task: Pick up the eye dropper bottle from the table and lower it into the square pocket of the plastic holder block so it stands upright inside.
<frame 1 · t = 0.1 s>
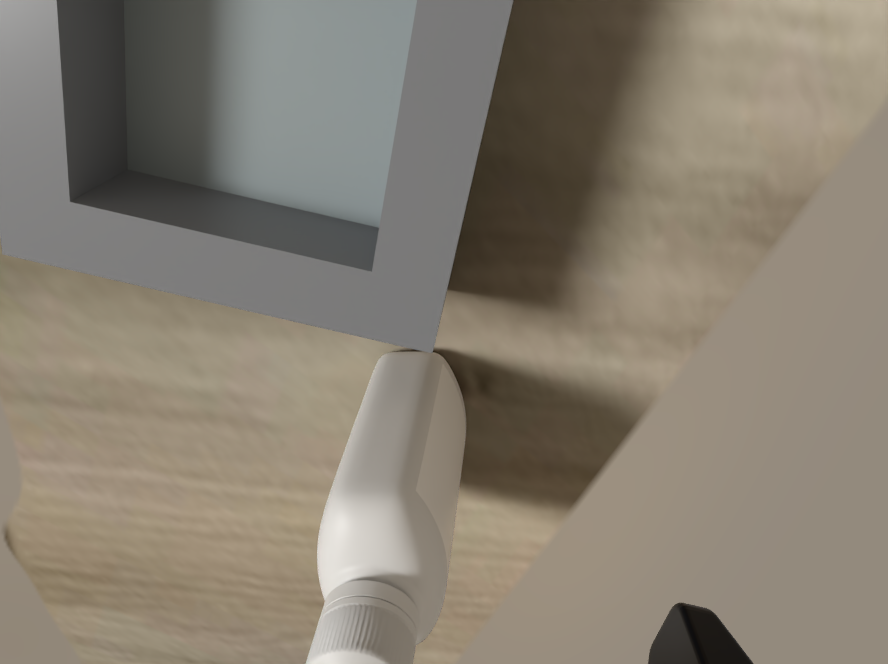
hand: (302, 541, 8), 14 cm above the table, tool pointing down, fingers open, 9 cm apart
eye dropper bottle: (419, 409, 25), on the table
holder block: (281, 54, 20), on the table
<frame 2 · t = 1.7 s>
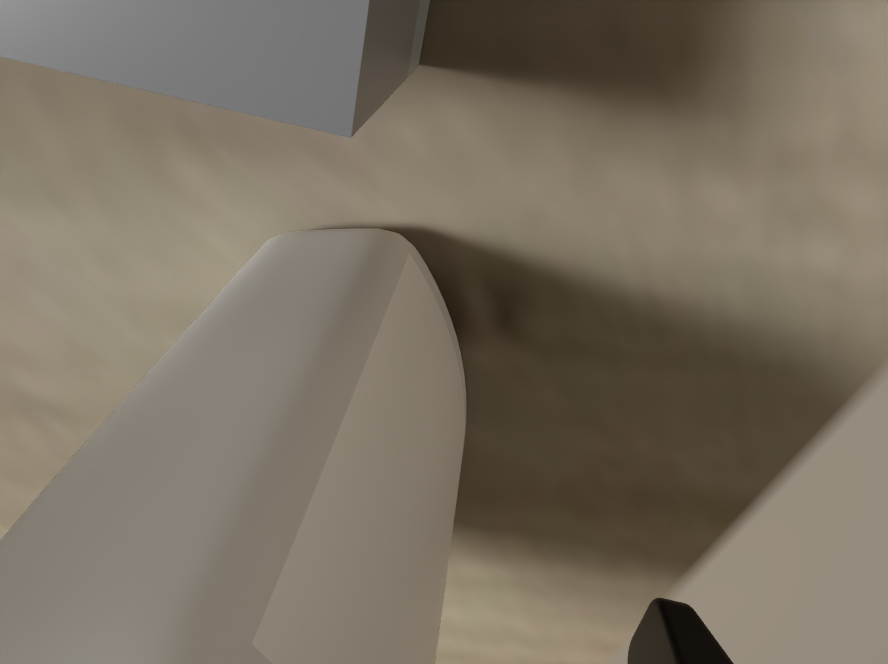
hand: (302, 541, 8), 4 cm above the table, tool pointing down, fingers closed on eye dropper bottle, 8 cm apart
eye dropper bottle: (366, 373, 12), on the table, touching gripper
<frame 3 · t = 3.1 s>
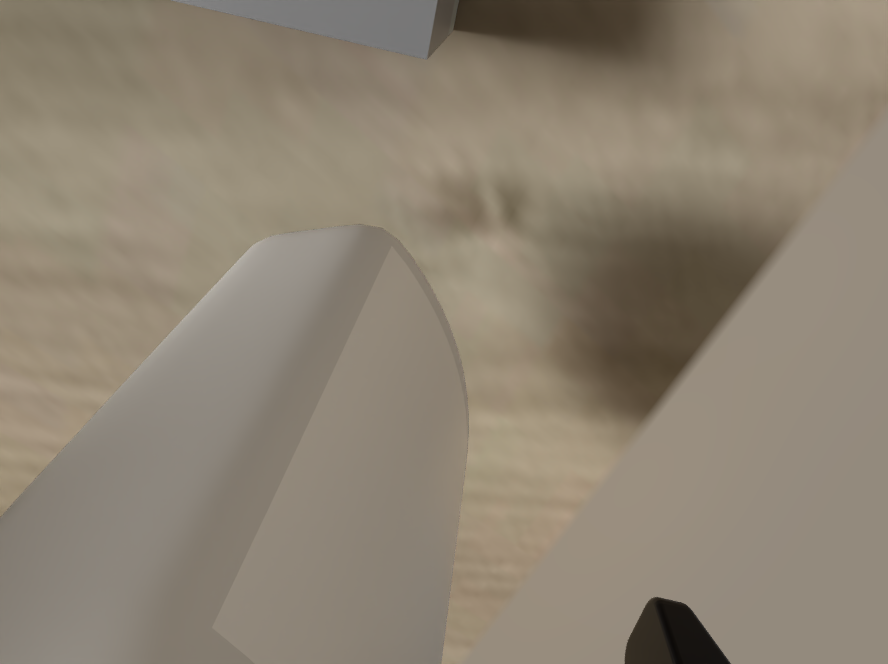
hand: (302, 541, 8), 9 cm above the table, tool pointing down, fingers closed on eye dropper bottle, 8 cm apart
eye dropper bottle: (366, 372, 12), point 5 cm above the table, touching gripper
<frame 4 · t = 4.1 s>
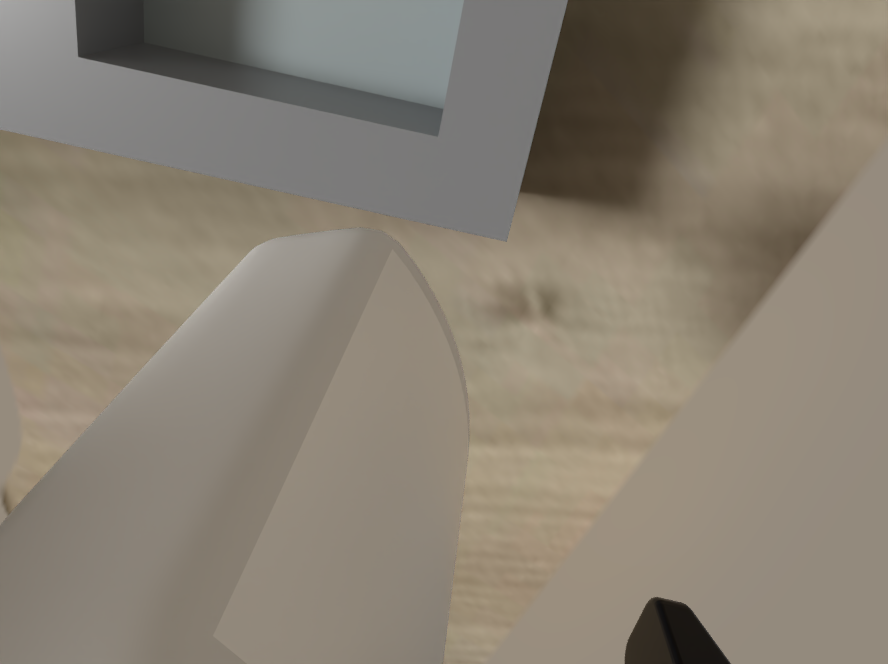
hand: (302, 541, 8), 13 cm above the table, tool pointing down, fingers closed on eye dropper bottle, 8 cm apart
eye dropper bottle: (367, 375, 12), point 10 cm above the table, touching gripper
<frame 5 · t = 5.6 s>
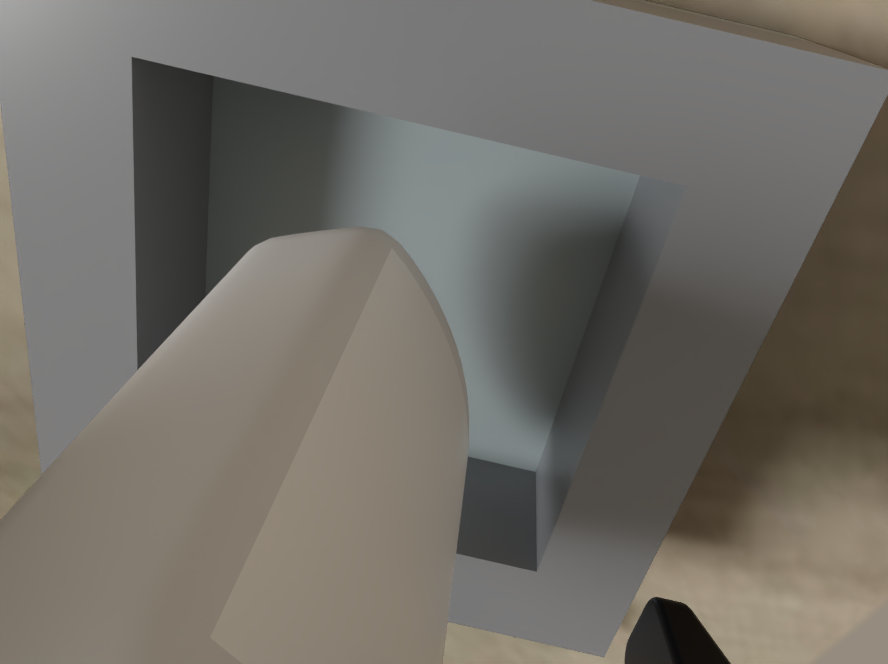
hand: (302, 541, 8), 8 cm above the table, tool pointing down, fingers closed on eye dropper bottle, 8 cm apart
eye dropper bottle: (366, 374, 12), point 4 cm above the table, touching gripper
holder block: (404, 263, 15), on the table
when the fingers open (5 cm above the table, at t = 6.8 s): eye dropper bottle stays where it is, resting on holder block.
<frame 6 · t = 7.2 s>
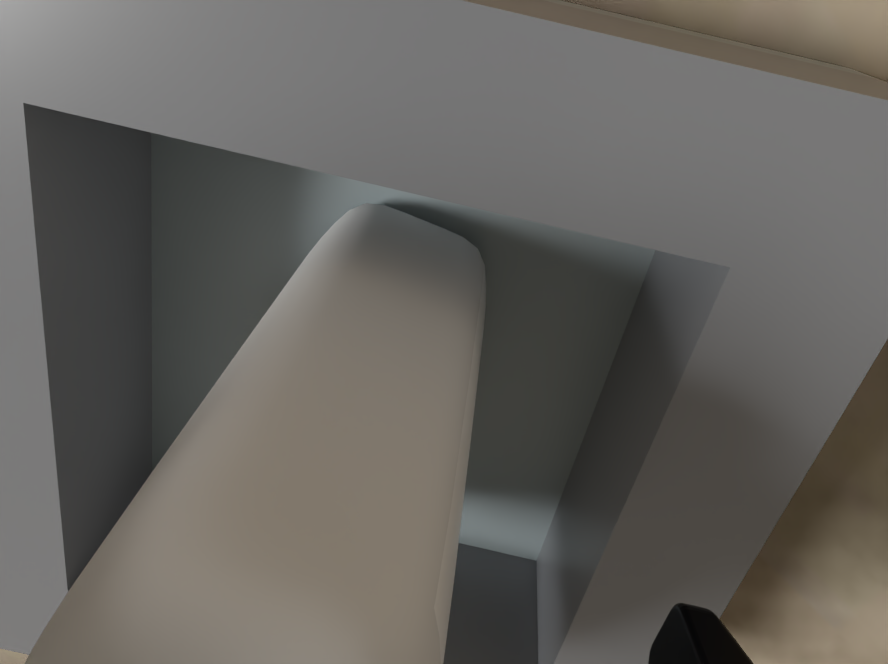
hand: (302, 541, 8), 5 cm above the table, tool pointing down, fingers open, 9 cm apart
eye dropper bottle: (374, 345, 12), point 1 cm above the table, touching holder block
holder block: (384, 325, 13), on the table
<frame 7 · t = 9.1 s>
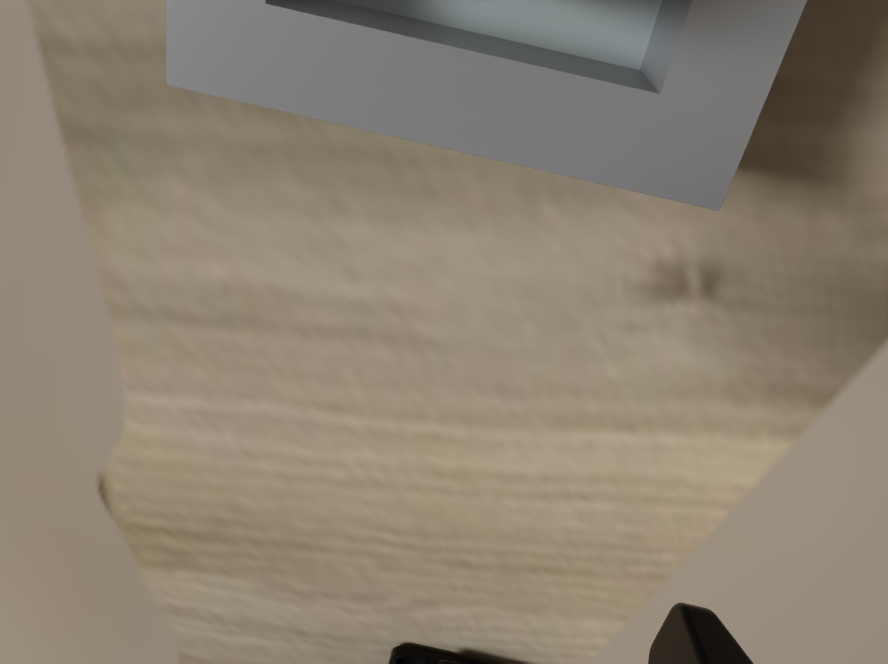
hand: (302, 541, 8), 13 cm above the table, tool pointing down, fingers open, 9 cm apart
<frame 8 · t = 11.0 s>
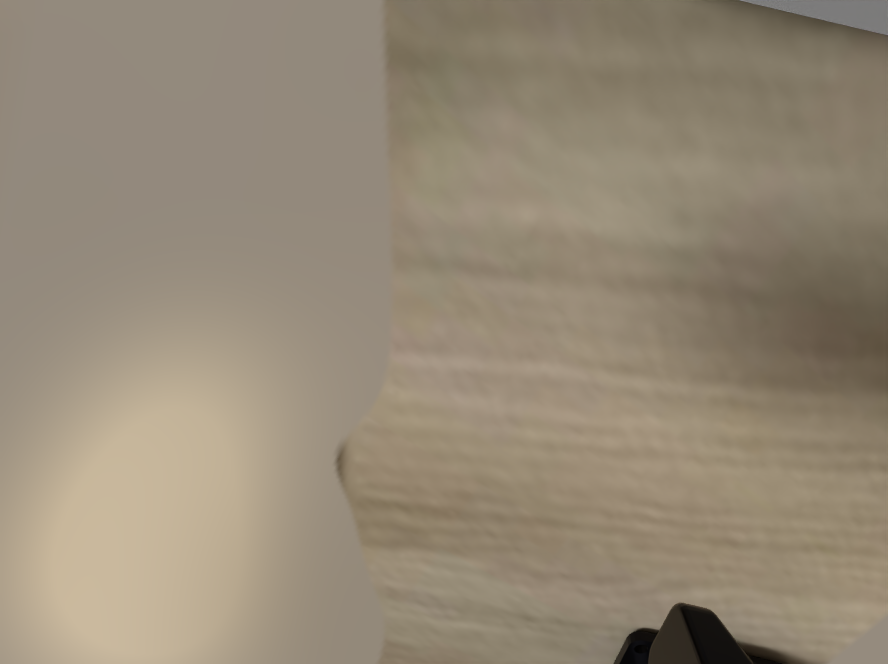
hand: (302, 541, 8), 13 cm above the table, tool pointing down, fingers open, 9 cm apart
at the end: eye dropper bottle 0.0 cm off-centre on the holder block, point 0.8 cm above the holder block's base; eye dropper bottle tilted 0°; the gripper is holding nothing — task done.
